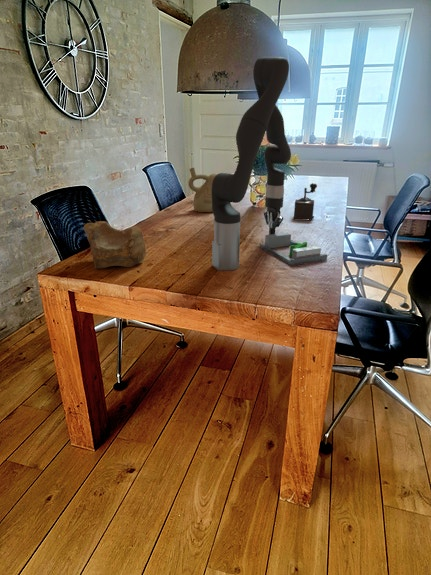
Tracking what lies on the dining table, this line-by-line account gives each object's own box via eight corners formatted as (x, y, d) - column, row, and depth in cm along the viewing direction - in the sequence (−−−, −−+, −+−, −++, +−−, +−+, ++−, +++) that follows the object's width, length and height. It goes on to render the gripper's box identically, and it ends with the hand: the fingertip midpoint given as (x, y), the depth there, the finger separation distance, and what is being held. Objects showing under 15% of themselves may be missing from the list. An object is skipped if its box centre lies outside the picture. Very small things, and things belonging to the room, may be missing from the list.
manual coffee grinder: (313, 220, 206) (317, 187, 199) (293, 219, 209) (296, 186, 201) (313, 214, 220) (317, 182, 213) (294, 213, 222) (297, 182, 215)
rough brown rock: (71, 271, 137) (64, 232, 130) (94, 253, 151) (89, 217, 144) (131, 279, 133) (127, 239, 125) (149, 260, 147) (146, 223, 140)
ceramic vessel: (224, 212, 222) (225, 168, 212) (191, 214, 218) (190, 169, 208) (217, 207, 238) (217, 165, 227) (186, 208, 233) (185, 166, 223)
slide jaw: (268, 248, 160) (268, 237, 158) (264, 246, 163) (265, 235, 161) (290, 245, 164) (291, 234, 162) (286, 243, 167) (287, 232, 165)
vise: (292, 265, 141) (293, 253, 139) (259, 247, 162) (260, 235, 160) (326, 260, 147) (328, 248, 145) (291, 243, 168) (292, 232, 166)
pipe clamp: (297, 251, 158) (298, 240, 156) (306, 253, 156) (307, 242, 154) (286, 258, 150) (287, 247, 148) (294, 260, 148) (295, 248, 146)
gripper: (259, 193, 164) (256, 232, 171) (275, 199, 152) (272, 240, 159) (273, 192, 166) (271, 231, 173) (291, 197, 155) (287, 238, 162)
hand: (271, 235), depth 166 cm, fingers closed
